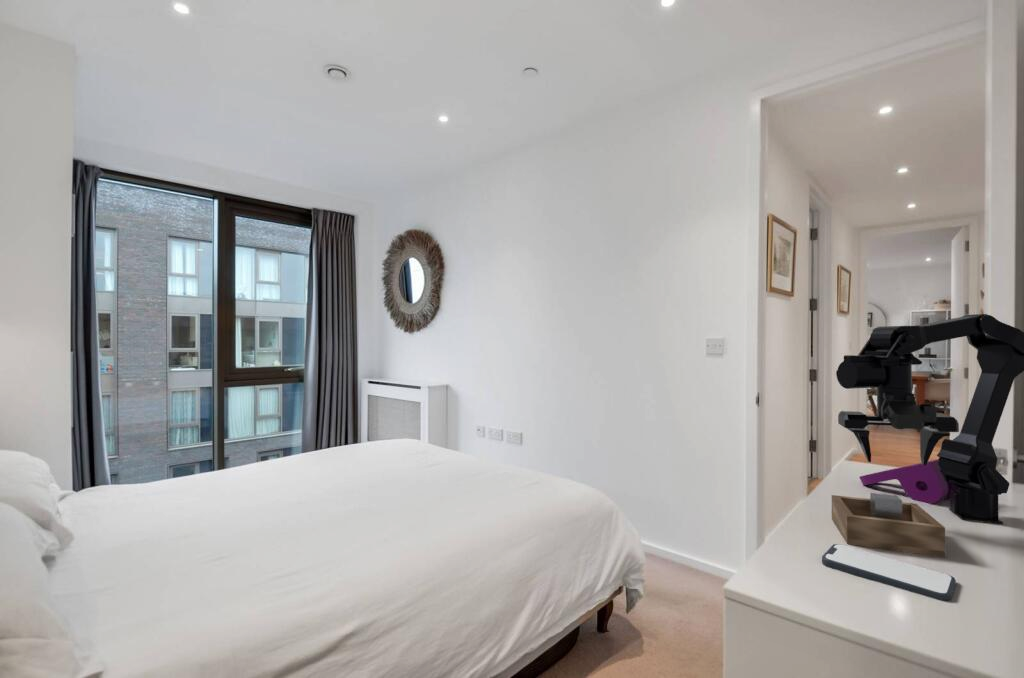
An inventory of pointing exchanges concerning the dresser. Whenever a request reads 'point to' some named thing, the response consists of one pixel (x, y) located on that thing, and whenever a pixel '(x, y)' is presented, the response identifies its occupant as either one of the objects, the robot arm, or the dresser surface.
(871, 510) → the grey block
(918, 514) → the open wooden box
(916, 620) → the dresser surface
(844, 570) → the phone case
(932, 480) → the mounting bracket
